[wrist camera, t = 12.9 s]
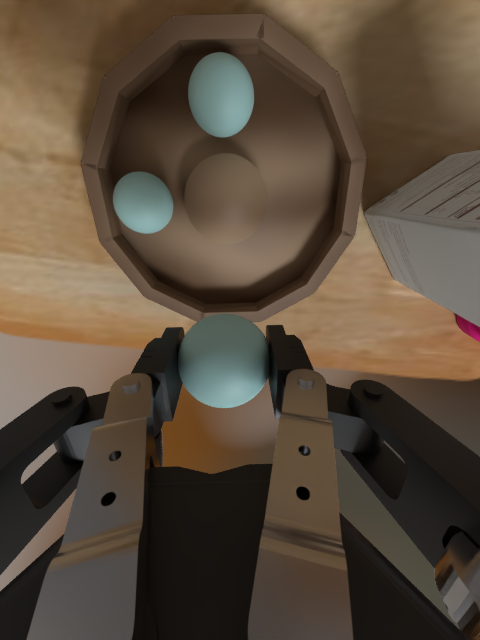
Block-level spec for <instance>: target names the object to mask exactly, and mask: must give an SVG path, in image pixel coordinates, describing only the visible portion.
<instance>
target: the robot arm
mask: <svg viewBox="0 0 480 640" xmlns="http://www.w3.org/2000/svg"><path fill="white" fill-rule="evenodd" d="M184 336H185V335H184V329H183V327H173V328H166V329H165V331H164V333H163V335H162V337H161V338H155V339H153V340H152V341H151V342H150V343H148V344H147V346H146V347H145V349H144V352H143V353H142V355H141V358H139V360H138V362H137V363H136V365H135V367H134V369H133V371H132V373H131V374H128V375H125V376H123V377H121V378H120V379H118V380H116V381H115V382H114V383H113V385H112V386H111V389H110V391H109V392H106V393H102V394H98V395H93V396H89V397H87V396H86V393H85V391H84V389H82V388H80V387H67V388H63V389H60V390H57V391H55V392H53V393H51V394H49V395H48V396H46V397H45V398H44V399H42V400H41V401H39V402H38V403H37V404H35V405H34V406H33V407H31V408H30V409H29V410H27V411H26V412H24V413H23V414H21V415H20V416H18V417H17V418H16V419H14V420H13V421H12V422H10V423H9V424H7V425H6V426H5V427H3V428H2V429H1V430H0V575H1V574H2V573H3V571H4V570H5V569H6V568H7V567H8V566H9V564H10V563H11V562H12V561H13V560H14V559H15V558H16V557H17V555H18V554H19V553H20V552H21V551H22V550H23V549H24V547H25V546H26V545H27V544H28V543H29V542H30V541H31V539H32V538H33V537H34V536H35V535H36V534H37V533H38V531H39V530H40V529H41V528H42V527H43V526H44V525H45V523H46V522H47V521H48V520H49V519H50V518H51V517H52V515H53V514H54V513H55V512H56V511H57V509H58V508H59V507H60V506H61V505H62V504H63V503H64V502H65V500H66V499H67V498H68V497H69V496H70V495H71V494H72V492H73V491H74V490H75V489H76V492H75V496H74V500H73V503H72V507H71V511H70V515H69V518H68V522H67V526H66V530H65V533H64V534H63V535H62V536H61V537H60V538H59V539H58V540H57V541H56V542H55V543H53V544H52V545H51V546H50V547H49V548H48V549H47V550H46V551H45V552H44V553H43V554H41V555H40V556H39V557H38V558H37V559H36V560H35V561H34V562H32V563H31V564H30V565H29V566H28V567H27V568H26V569H25V570H24V571H22V572H21V573H20V574H19V575H18V576H17V577H16V578H15V579H14V580H12V581H11V582H10V583H9V584H8V585H7V586H6V587H5V588H4V589H2V590H1V591H0V640H480V457H479V456H478V455H477V454H475V453H474V452H473V451H471V450H470V449H468V448H467V447H466V446H465V445H463V444H462V443H461V442H459V441H458V440H457V439H455V438H454V437H453V436H452V435H450V434H449V433H448V432H446V431H445V430H444V429H442V428H441V427H440V426H438V425H437V424H436V423H434V422H433V421H432V420H430V419H429V418H428V417H427V416H425V415H424V414H423V413H421V412H420V411H419V410H417V409H416V408H415V407H413V406H412V405H411V404H409V403H408V402H407V401H405V400H404V399H403V398H402V397H400V396H399V395H398V394H396V393H395V392H394V391H392V390H391V389H390V388H388V387H387V386H385V385H383V384H381V383H379V382H376V381H372V380H359V381H356V382H354V383H353V384H352V385H351V389H345V388H339V387H335V386H331V385H329V384H326V380H325V378H324V377H323V376H322V375H321V374H319V373H318V372H316V371H314V369H313V367H312V365H311V362H310V360H309V358H308V356H307V354H306V351H305V349H304V346H303V344H302V342H301V340H300V339H299V338H297V337H296V336H295V335H286V334H285V331H284V328H283V325H267V326H266V340H267V342H268V345H269V349H270V373H269V376H268V380H269V385H270V391H271V397H272V403H273V408H274V414H275V418H276V419H279V425H278V432H277V439H276V446H275V452H274V459H273V464H254V465H253V464H250V465H245V466H241V467H238V468H234V469H230V470H226V471H223V472H219V473H215V474H208V473H204V472H199V471H195V470H191V469H187V468H182V467H163V444H162V431H161V428H162V425H163V422H164V421H173V418H174V414H175V410H176V406H177V402H178V399H179V395H180V391H181V388H182V384H183V382H182V380H181V378H180V374H179V370H178V352H179V348H180V345H181V342H182V340H183V338H184ZM384 440H385V441H386V442H387V443H388V444H389V445H390V446H391V447H392V448H393V449H394V450H395V451H396V452H397V453H398V454H399V455H400V456H401V457H402V459H403V460H404V462H405V463H404V462H403V461H402V460H401V459H399V458H398V457H397V455H396V454H395V453H393V451H392V450H391V449H390V448H389V447H387V446H386V444H384ZM53 443H54V445H55V448H56V449H57V452H56V453H55V454H54V455H53V456H52V457H51V458H50V459H48V461H46V462H45V463H44V464H43V465H42V466H41V467H40V468H39V469H38V470H37V471H36V472H35V473H34V474H33V475H31V476H30V477H29V478H28V479H27V480H26V481H25V482H24V483H23V484H22V485H21V476H22V473H23V472H24V470H25V469H26V467H27V466H28V465H29V464H30V463H31V462H33V461H34V460H35V459H36V458H37V457H38V456H39V455H40V454H41V453H43V452H44V451H45V450H46V449H47V448H48V447H49V446H50V445H52V444H53ZM334 448H337V449H340V451H341V452H342V454H343V456H344V457H345V458H346V459H347V461H348V462H349V463H350V464H351V466H352V467H353V468H354V469H355V470H356V472H357V473H358V474H359V475H360V477H361V478H362V479H363V480H364V482H365V483H366V484H367V485H368V486H369V488H370V489H371V490H372V492H373V493H374V494H375V495H376V497H377V498H378V499H379V500H380V501H381V503H382V504H383V505H384V506H385V508H386V509H387V510H388V511H389V513H390V514H391V515H392V516H393V518H394V519H395V520H396V521H397V522H398V524H399V525H400V526H401V527H402V529H403V530H404V531H405V532H406V534H407V535H408V536H409V537H410V539H411V540H412V541H413V542H414V543H415V545H416V546H417V547H418V549H419V550H420V551H421V552H422V553H423V555H424V556H425V557H426V558H427V560H428V561H429V562H430V563H431V565H432V566H433V567H434V568H435V572H434V575H435V582H436V586H437V588H438V591H439V593H440V595H441V597H442V599H443V600H444V602H445V606H446V609H447V611H448V613H449V615H450V616H451V617H452V619H453V620H454V621H455V622H456V623H457V625H458V627H459V629H458V628H457V627H456V626H455V625H454V624H453V623H452V622H451V621H450V620H449V619H448V618H447V617H446V616H445V615H444V614H443V613H442V612H441V611H440V610H439V609H438V608H437V607H436V606H435V605H433V603H432V602H431V601H430V600H429V599H427V598H426V597H425V596H424V595H423V594H422V593H421V592H420V591H419V590H418V589H417V588H416V587H415V586H414V585H413V584H412V583H411V582H410V581H409V580H408V579H407V578H406V577H405V576H404V575H403V574H402V573H401V572H400V571H399V570H398V569H397V568H396V567H395V566H394V565H393V564H392V563H391V562H390V561H389V560H387V558H386V557H385V556H384V555H383V554H382V553H381V552H380V551H379V550H378V549H377V548H376V547H374V546H373V545H372V544H371V543H370V542H369V541H368V540H367V539H366V538H365V537H364V536H363V535H362V534H361V533H360V532H359V531H358V530H357V529H356V528H355V527H354V526H353V525H352V524H351V523H350V522H349V521H348V520H347V519H346V518H345V517H344V516H343V515H342V514H341V513H340V512H339V502H338V489H337V477H336V464H335V451H334Z"/></svg>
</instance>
